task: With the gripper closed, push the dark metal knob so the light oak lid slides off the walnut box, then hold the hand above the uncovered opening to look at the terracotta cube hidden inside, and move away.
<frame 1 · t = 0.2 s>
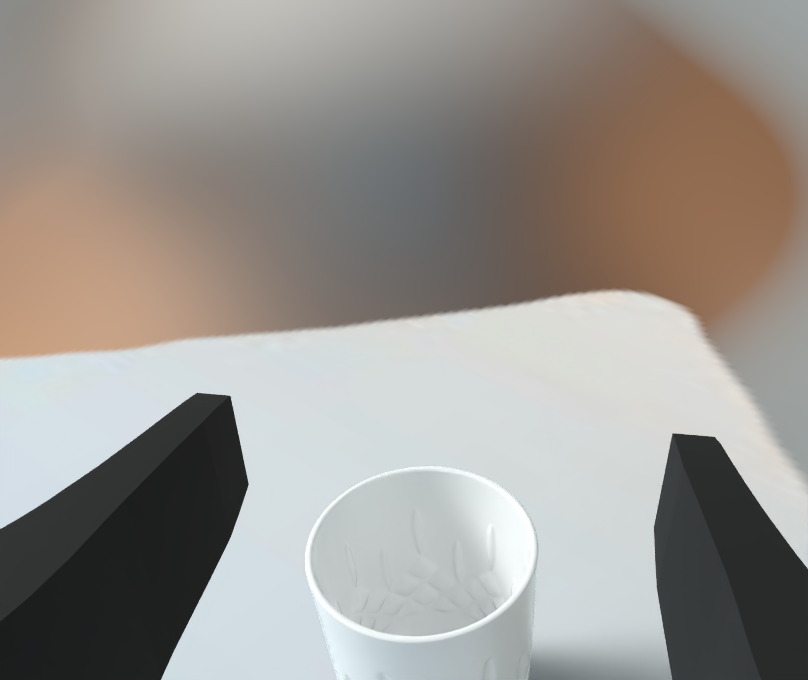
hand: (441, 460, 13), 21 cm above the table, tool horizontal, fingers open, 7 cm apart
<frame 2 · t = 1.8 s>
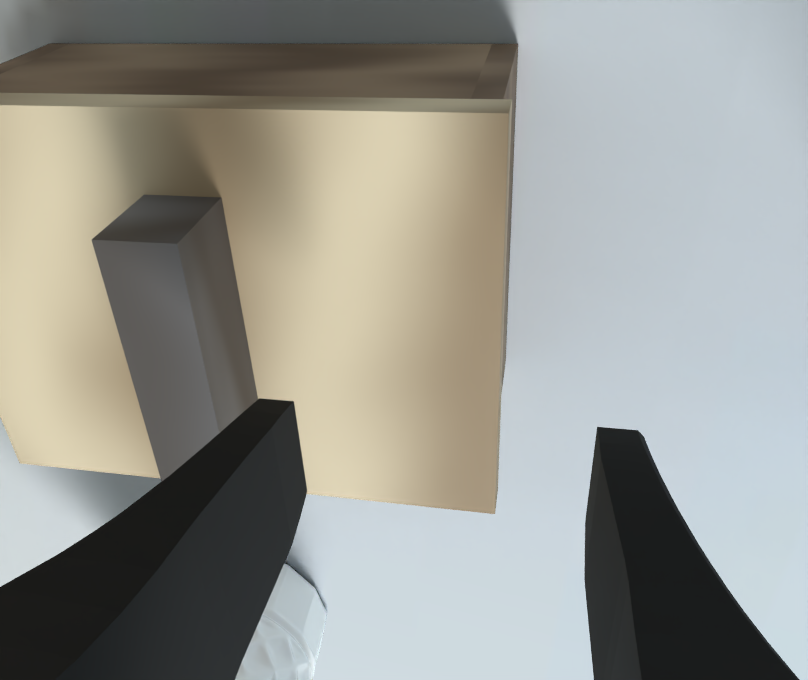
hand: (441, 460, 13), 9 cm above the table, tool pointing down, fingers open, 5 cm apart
lid: (198, 342, 16), point 6 cm above the table, slide at 0.0 cm
box: (292, 213, 21), on the table
white cup: (250, 596, 32), on the table
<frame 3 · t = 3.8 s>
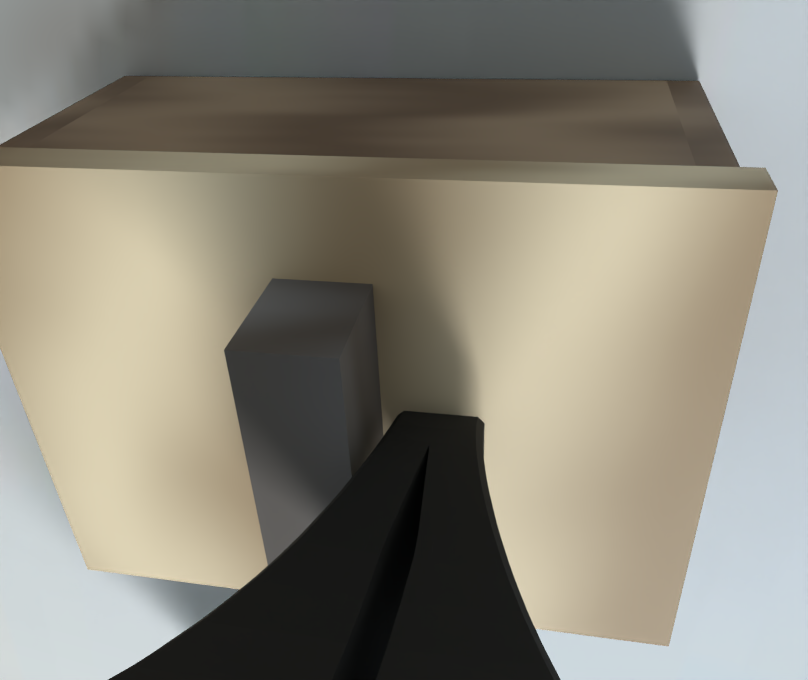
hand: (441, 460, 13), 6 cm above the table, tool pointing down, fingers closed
lid: (329, 454, 13), point 6 cm above the table, slide at 0.0 cm, touching gripper
box: (401, 271, 18), on the table
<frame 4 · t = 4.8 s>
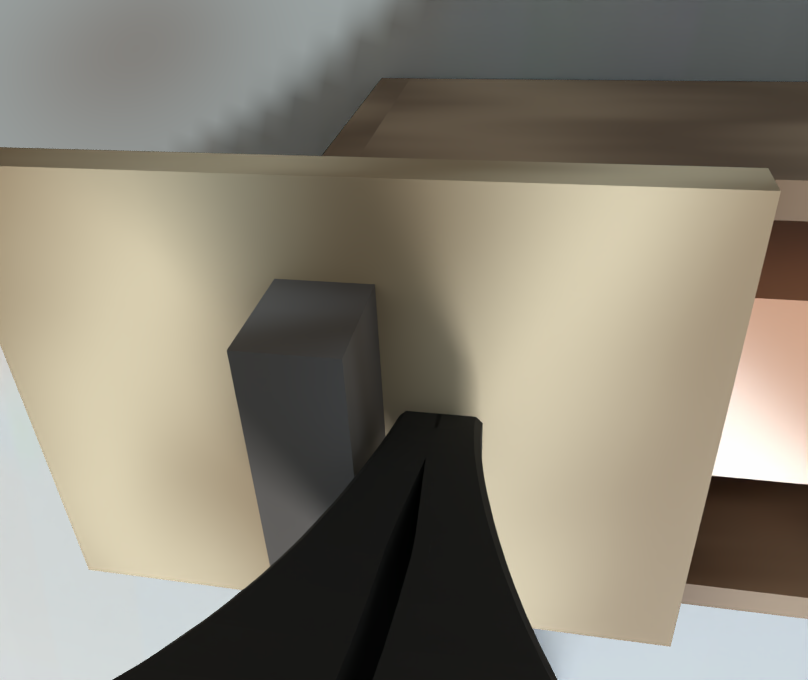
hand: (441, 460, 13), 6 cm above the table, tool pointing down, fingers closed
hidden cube: (774, 289, 17), resting in box
lid: (331, 454, 13), point 6 cm above the table, slide at 5.7 cm, touching gripper
box: (654, 285, 17), on the table
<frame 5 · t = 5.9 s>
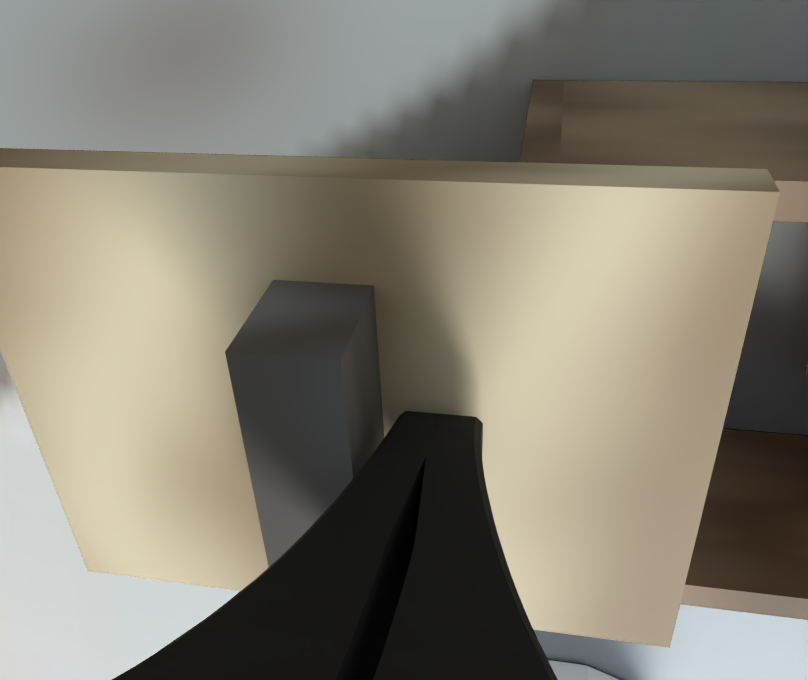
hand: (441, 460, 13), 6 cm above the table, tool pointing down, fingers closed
lid: (330, 456, 13), point 6 cm above the table, slide at 8.8 cm, touching gripper
box: (801, 293, 17), on the table
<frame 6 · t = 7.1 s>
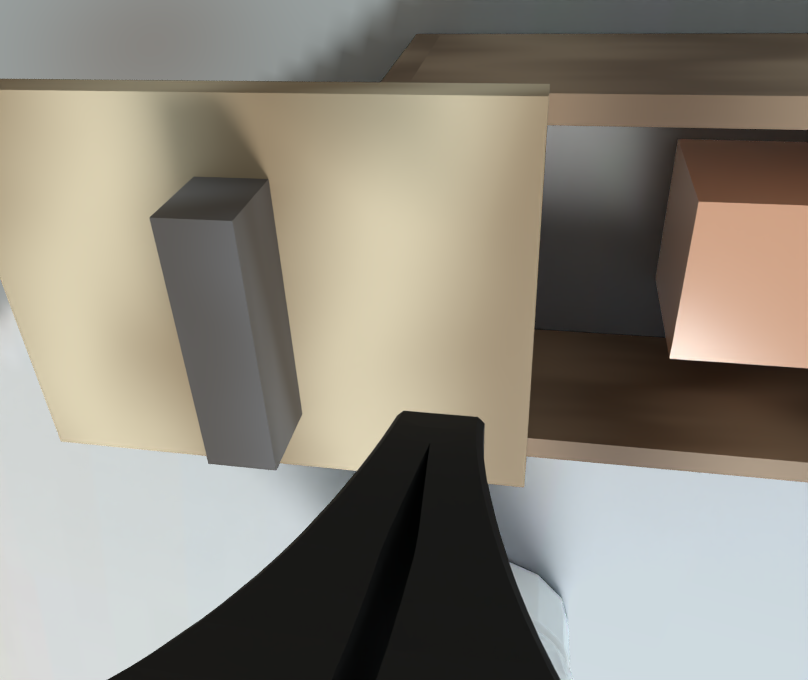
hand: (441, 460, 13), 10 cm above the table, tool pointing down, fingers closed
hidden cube: (745, 214, 20), resting in box
lid: (243, 319, 17), point 6 cm above the table, slide at 8.8 cm
box: (644, 212, 20), on the table
white cup: (482, 606, 31), on the table
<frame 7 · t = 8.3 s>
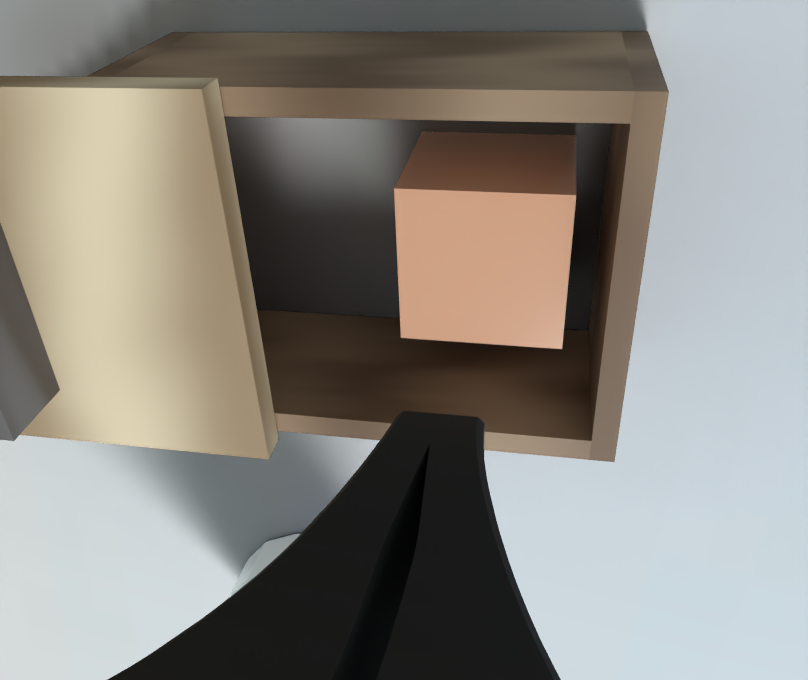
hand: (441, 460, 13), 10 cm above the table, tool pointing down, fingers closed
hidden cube: (495, 203, 21), resting in box
box: (404, 201, 22), on the table
white cup: (326, 584, 32), on the table
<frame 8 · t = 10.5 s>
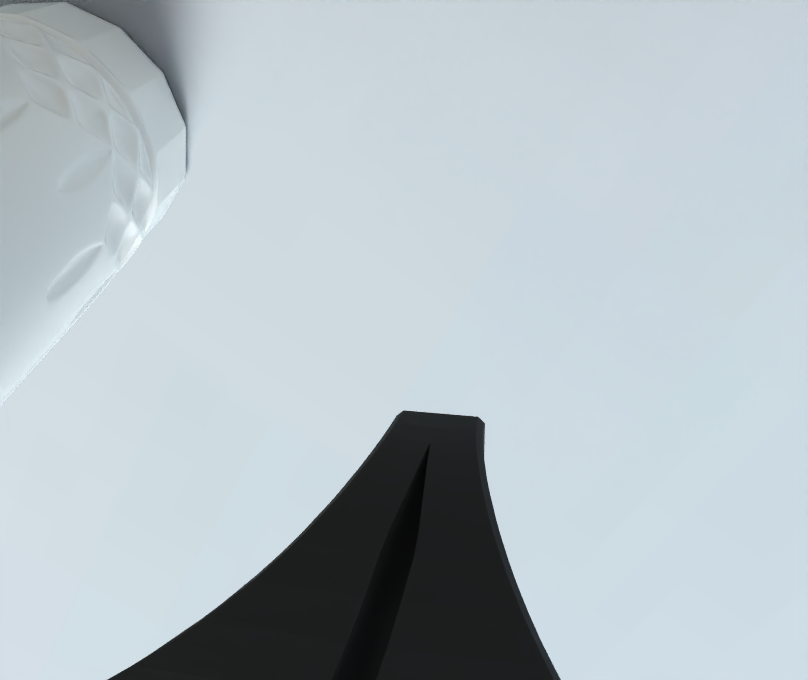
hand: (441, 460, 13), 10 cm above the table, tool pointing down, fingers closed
white cup: (83, 122, 22), on the table
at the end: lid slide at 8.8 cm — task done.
